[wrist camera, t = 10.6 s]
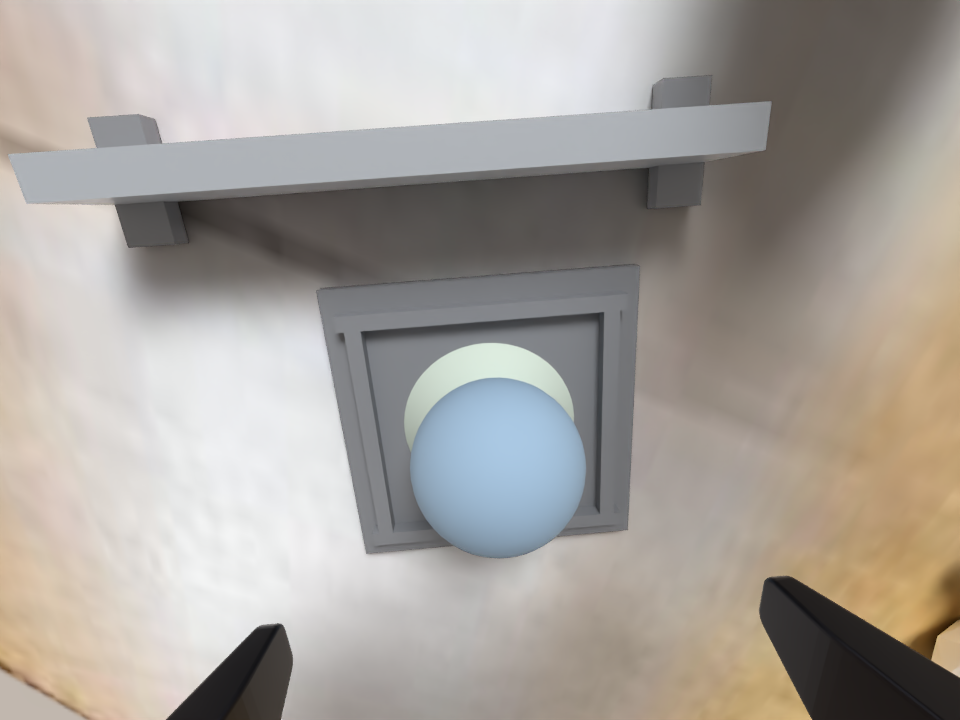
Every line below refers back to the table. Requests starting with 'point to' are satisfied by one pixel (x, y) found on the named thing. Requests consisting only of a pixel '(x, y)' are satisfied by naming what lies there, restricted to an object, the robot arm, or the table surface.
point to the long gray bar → (391, 157)
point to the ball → (498, 467)
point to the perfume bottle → (948, 649)
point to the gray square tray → (478, 355)
